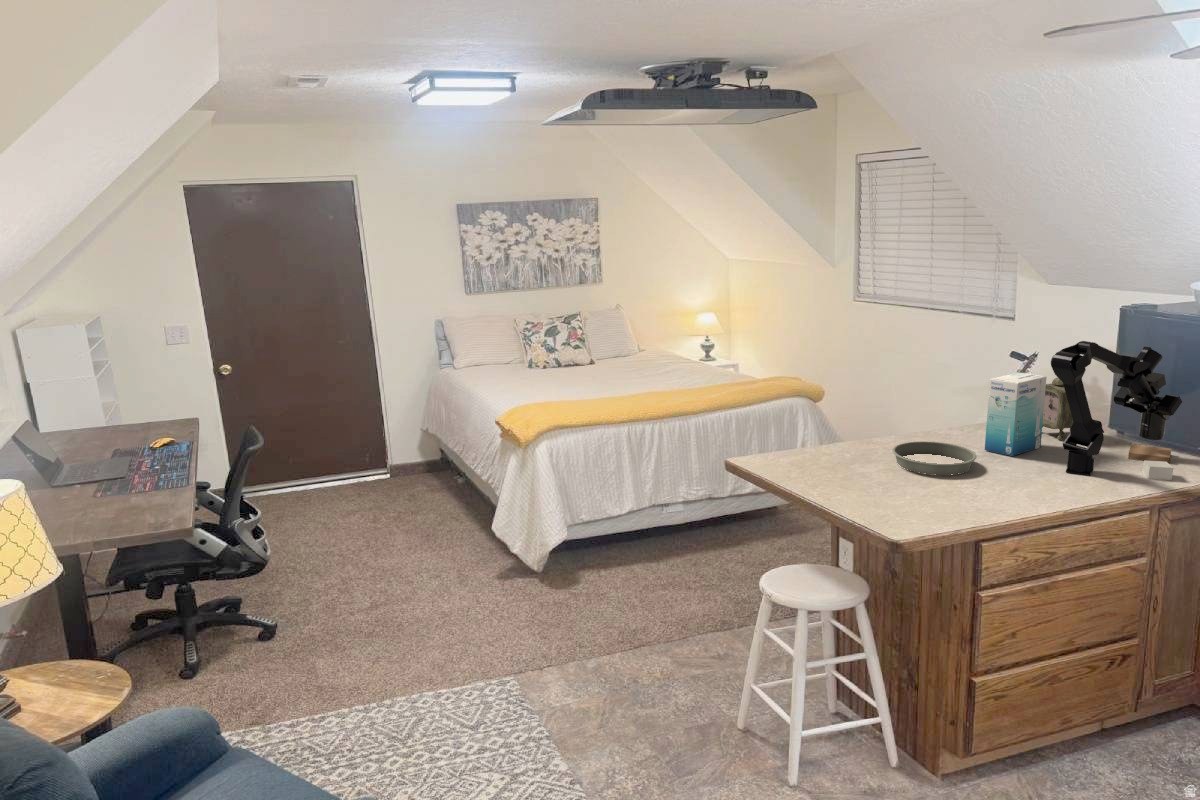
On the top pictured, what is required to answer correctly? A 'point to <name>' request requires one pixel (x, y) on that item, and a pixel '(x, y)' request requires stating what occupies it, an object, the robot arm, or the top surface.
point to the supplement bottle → (1152, 424)
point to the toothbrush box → (1015, 413)
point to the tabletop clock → (1056, 408)
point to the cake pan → (934, 449)
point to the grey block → (1157, 470)
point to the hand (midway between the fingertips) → (1156, 416)
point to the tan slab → (1149, 453)
